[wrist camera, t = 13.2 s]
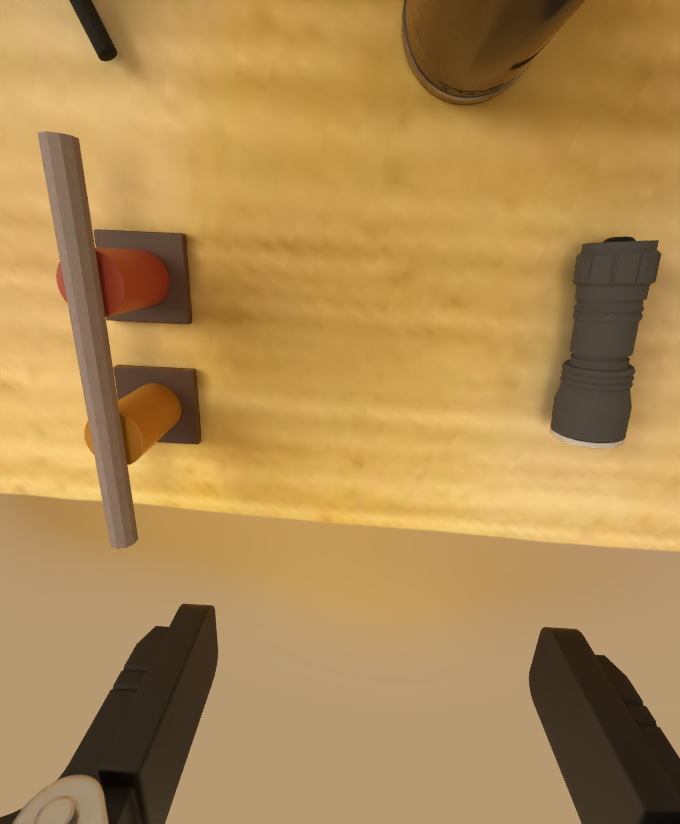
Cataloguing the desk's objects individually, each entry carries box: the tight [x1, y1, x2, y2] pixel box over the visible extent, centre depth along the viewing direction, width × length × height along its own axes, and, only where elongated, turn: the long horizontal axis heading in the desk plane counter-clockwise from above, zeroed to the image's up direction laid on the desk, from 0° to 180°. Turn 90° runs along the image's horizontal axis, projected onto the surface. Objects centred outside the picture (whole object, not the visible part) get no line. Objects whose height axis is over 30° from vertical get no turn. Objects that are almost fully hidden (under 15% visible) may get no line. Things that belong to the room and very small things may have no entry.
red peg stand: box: [57, 230, 192, 324], centre depth 31 cm, size 7×7×8 cm
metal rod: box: [38, 132, 138, 549], centre depth 28 cm, size 2×27×2 cm, turn 178°
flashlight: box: [550, 237, 661, 448], centre depth 33 cm, size 15×5×5 cm, turn 2°
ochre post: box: [85, 365, 201, 465], centre depth 35 cm, size 7×7×8 cm
